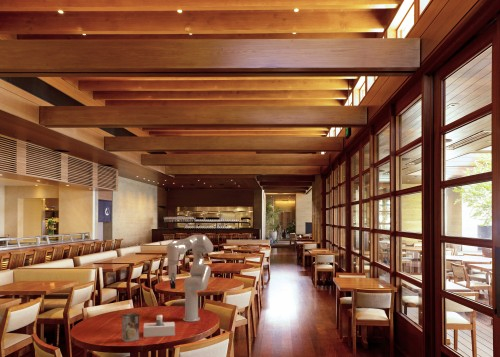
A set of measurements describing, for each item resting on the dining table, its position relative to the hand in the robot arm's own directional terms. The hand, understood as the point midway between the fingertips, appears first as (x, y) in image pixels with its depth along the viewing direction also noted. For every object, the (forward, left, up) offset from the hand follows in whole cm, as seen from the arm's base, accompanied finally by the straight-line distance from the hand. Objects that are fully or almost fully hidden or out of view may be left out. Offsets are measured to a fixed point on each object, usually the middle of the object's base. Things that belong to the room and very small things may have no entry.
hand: (172, 287), depth 331 cm
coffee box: (+22, -27, -28) cm, 45 cm away
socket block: (+11, -9, -28) cm, 32 cm away
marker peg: (+11, -9, -28) cm, 32 cm away
